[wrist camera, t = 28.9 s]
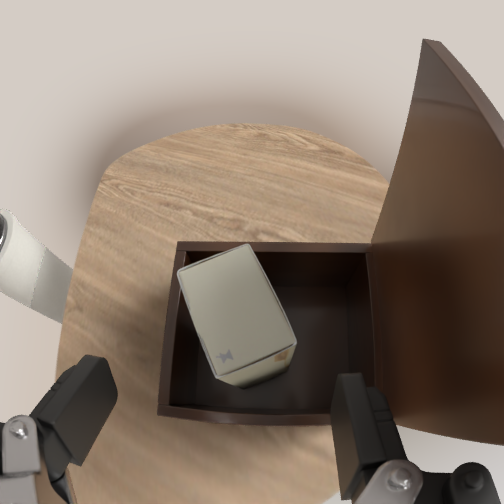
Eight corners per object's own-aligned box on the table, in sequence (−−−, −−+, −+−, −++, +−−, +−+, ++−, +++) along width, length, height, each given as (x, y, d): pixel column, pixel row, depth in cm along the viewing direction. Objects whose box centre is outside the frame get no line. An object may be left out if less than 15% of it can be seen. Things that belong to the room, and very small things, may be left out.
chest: (187, 411, 24) (156, 415, 17) (199, 279, 30) (177, 241, 23) (355, 414, 23) (385, 420, 16) (351, 281, 28) (374, 243, 22)
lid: (564, 450, 2) (646, 379, 1) (422, 37, 8) (517, 62, 7) (382, 421, 16) (450, 409, 15) (370, 240, 21) (431, 238, 20)
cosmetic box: (289, 370, 24) (304, 349, 14) (241, 391, 24) (216, 386, 13) (259, 305, 27) (250, 237, 16) (214, 324, 27) (173, 269, 16)
